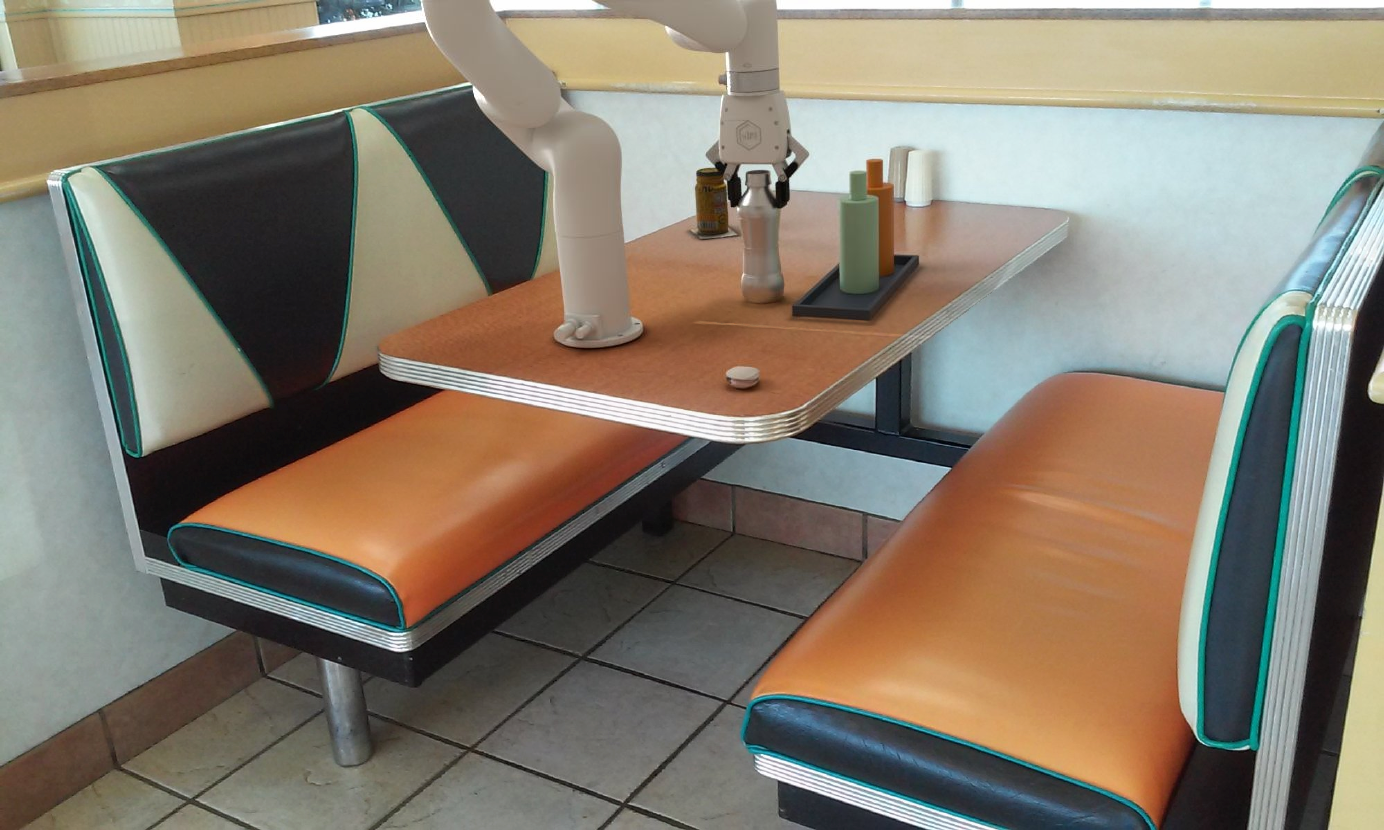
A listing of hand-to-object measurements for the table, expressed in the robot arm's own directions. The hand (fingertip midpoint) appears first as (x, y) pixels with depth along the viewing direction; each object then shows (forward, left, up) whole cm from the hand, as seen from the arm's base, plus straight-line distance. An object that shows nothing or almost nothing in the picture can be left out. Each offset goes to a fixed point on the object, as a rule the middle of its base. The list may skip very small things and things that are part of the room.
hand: (758, 205), depth 175 cm
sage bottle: (+8, -13, -14) cm, 21 cm away
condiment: (+41, +25, -15) cm, 50 cm away
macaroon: (-34, -10, -15) cm, 39 cm away
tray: (+8, -13, -15) cm, 21 cm away
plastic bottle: (0, 0, -15) cm, 15 cm away
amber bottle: (+17, -13, -14) cm, 26 cm away
